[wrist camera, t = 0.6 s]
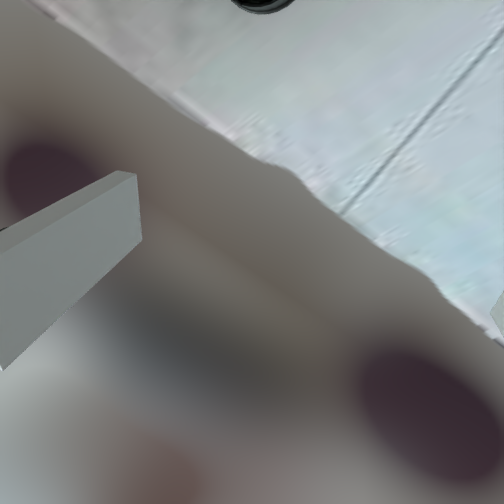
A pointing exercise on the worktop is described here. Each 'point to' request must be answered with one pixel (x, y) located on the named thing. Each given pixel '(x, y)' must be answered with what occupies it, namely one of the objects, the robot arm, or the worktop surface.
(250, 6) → the french press
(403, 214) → the worktop surface
